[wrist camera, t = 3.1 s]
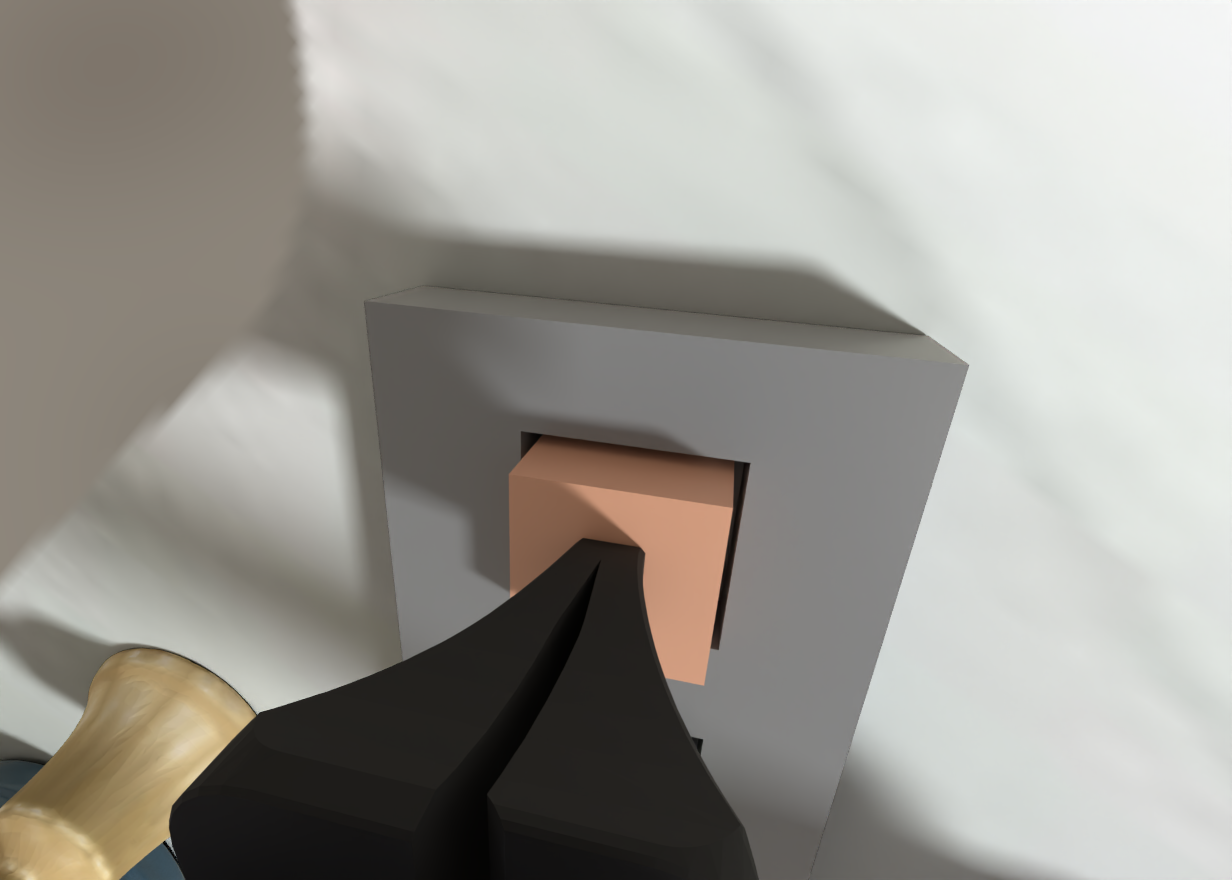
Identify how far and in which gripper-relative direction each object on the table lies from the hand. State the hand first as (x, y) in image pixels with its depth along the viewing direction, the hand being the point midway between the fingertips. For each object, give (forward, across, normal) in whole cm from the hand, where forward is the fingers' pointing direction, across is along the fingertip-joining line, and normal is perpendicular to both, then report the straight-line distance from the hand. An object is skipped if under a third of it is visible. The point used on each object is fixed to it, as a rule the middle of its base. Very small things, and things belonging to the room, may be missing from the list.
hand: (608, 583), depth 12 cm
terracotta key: (+2, 0, 0) cm, 2 cm away
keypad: (+4, 0, +8) cm, 9 cm away
